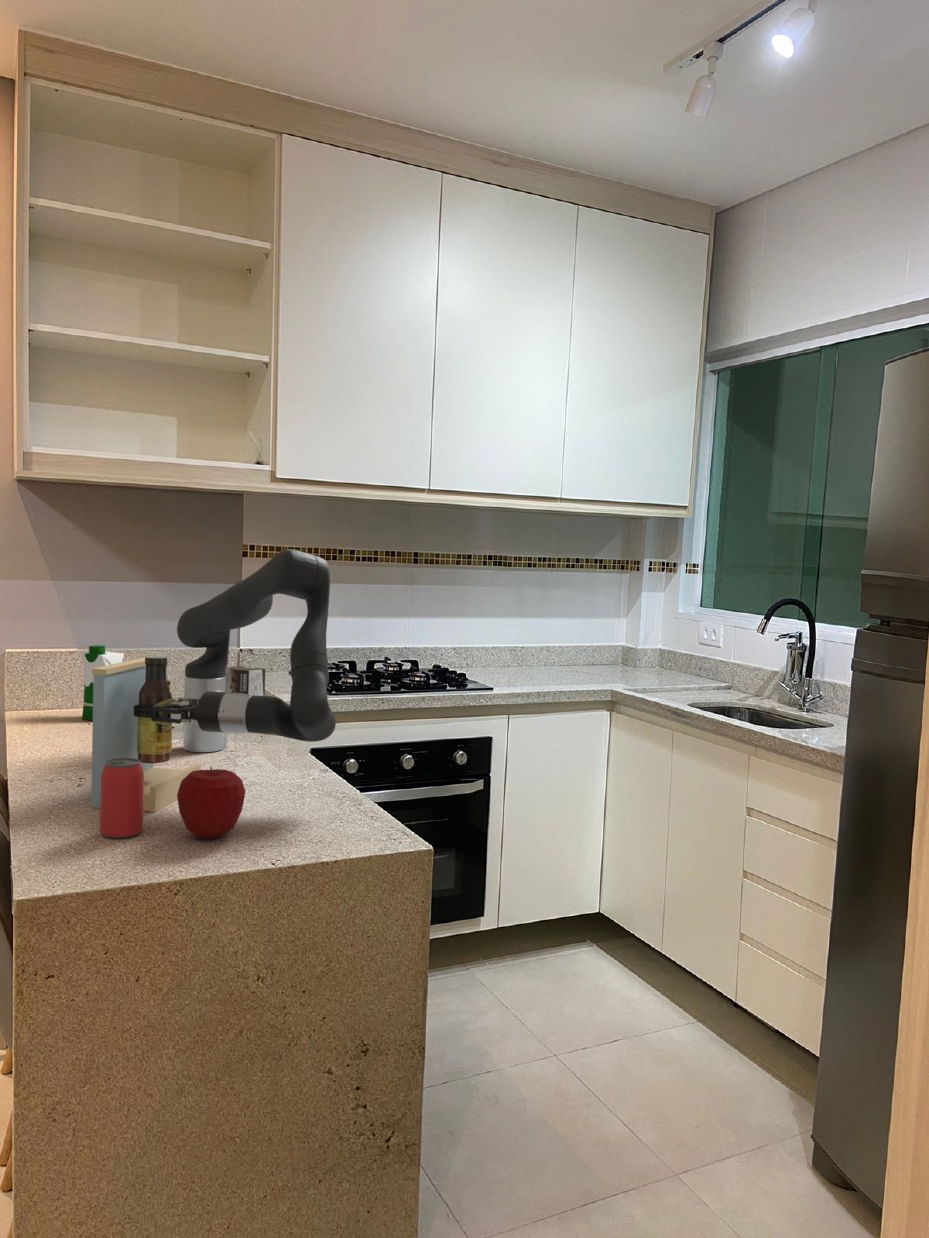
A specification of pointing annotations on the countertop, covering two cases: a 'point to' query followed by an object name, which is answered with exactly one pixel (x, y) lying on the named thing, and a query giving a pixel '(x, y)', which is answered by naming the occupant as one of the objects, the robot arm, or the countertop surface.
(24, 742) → the countertop surface
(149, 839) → the countertop surface
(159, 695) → the sauce bottle
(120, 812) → the beer can
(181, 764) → the countertop surface
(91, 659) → the milk carton
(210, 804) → the apple
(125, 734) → the wall board
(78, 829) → the countertop surface
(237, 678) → the coffee box
